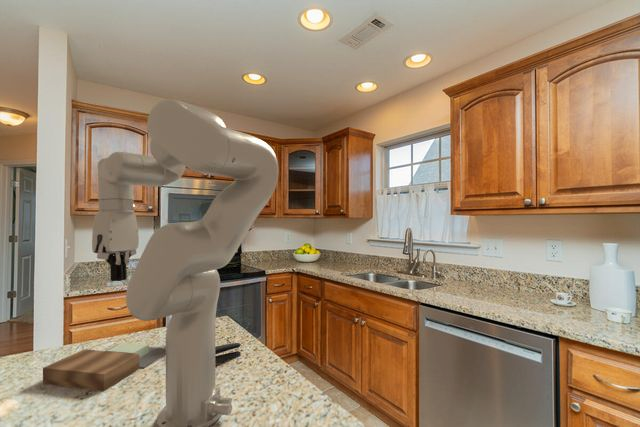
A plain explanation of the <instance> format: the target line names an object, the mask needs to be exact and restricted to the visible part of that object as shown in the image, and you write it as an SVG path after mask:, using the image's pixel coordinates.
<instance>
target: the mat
mask: <svg viewBox="0 0 640 427" xmlns="http://www.w3.org/2000/svg"><path fill="white" fill-rule="evenodd" d="M117 345H118V344H115V345H113V346H112V347H110V348H108V349H105V351H107V350H109V349H111V348H113V347H115V346H117ZM164 356H166V347H165V348H164V347H152V346H149V353H147V354H145V355H144V356H142V357H140V358H139V369H145V367H146V368H147V367H148V366H150V365H152V364H153V363H155V362H157V361H158V360H160V359H161V358H163V357H164Z"/></svg>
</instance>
